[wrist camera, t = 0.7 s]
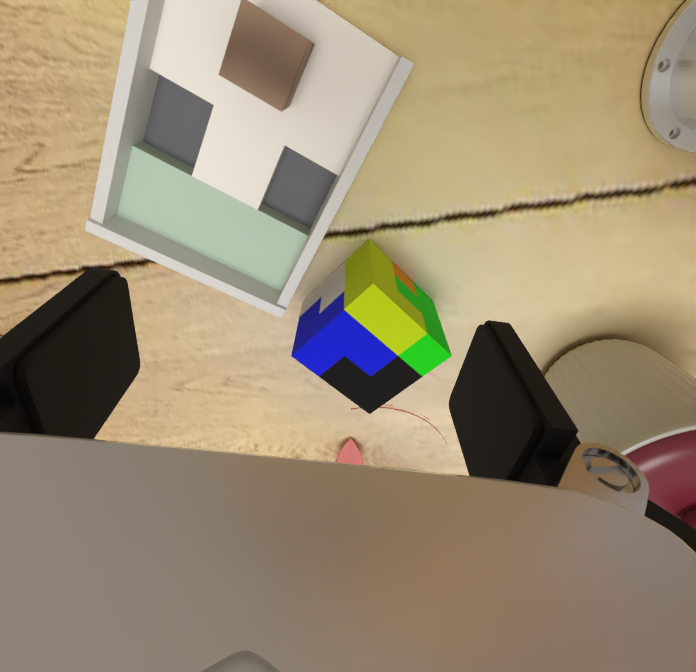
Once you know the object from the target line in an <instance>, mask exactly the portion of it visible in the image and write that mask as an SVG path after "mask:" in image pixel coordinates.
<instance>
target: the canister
mask: <svg viewBox="0 0 696 672" xmlns="http://www.w3.org/2000/svg"><path fill="white" fill-rule="evenodd" d="M544 377H545V379H546V380H547V382H548V384H549V385H550V387H551V388H552V390H553V391H554V393H555V394H556V396H557V398H558V399H559V401H560V402H561V404H562V405H563V407H564V408H565V410H566V412H567V413H568V415H569V416H570V418H571V419H572V421H573V422H574V424H575V425H576V427H577V429H578V430H579V431H578V433H577V434H576V436H577V438H578V439H579V441H580V442H581V444H582V443H586V442H589V443H598V444H602V445H606V446H608V447H610V448H612V449H614V450H617V451H618V452H620V453H621V454H623V455H624V456H626V457H628V458H629V459H630V460H631V461H632V462H633V463H634V464H636V465H637V466H638V468H639V469H640V470H641V471H642V472H643V474H644V475H645V477H646V479H647V481H648V483H649V495H648V499H649V500H650V501H652V502H654V503H655V504H657V505H658V506H660V507H661V508H663V509H665V510H666V511H668V512H669V513H671V514H673V515H674V516H676V517H677V518H679V519H680V520H682V521H684V522H685V523H687V524H688V525H690V526H692V527H693V528H695V529H696V379H695V378H694V377H692V376H691V375H689V374H688V373H687V372H685V371H684V370H682V369H681V368H679V367H678V366H676V365H675V364H673V363H672V362H670V361H669V360H667V359H666V358H664V357H663V356H662V355H660V354H658V353H657V352H655V351H654V350H652V349H650V348H648V347H646V346H643V345H641V344H639V343H636V342H631V341H628V340H618V339H610V340H608V339H603V340H600V341H593V342H591V343H585V344H584V345H582V346H579V347H576V348H575V349H573V350H571V351H568V353H566V354H565V355H563V356H561V358H560V359H559V360H557V361H555V363H554V364H553V365H552V366H551V367H550V368H549V371H548V372H547V373H546V374H545V376H544Z"/></svg>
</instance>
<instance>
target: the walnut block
mask: <svg viewBox="0 0 696 672" xmlns="http://www.w3.org/2000/svg"><path fill="white" fill-rule="evenodd" d="M314 45H315V44H314V43H313V42H311V41H310V40H308V39H307V38H305V37H304V36H302V35H301V34H299V33H298V32H296V31H294V30H293V29H291V28H290V27H288V26H287V25H285V24H284V23H282V22H281V21H279V20H278V19H276V18H274V17H273V16H271V15H270V14H268V13H267V12H265V11H264V10H262V9H261V8H259V7H258V6H256V5H254V4H253V3H251V2H250V1H248V0H241V2H240V6H239V9H238V12H237V15H236V19H235V22H234V25H233V28H232V32H231V35H230V38H229V42H228V45H227V48H226V51H225V55H224V58H223V61H222V65H221V68H220V71H219V74H218V75H220V76H222V77H223V78H225V79H227V80H228V81H230V82H232V83H233V84H235V85H237V86H239V87H240V88H242V89H244V90H245V91H247V92H249V93H250V94H252V95H254V96H255V97H257V98H259V99H261V100H262V101H264V102H266V103H267V104H269V105H271V106H272V107H274V108H276V109H278V110H279V111H281V112H282V111H283V110H285V109H286V108H288V107H290V105H291V102H292V100H293V97H294V95H295V92H296V90H297V87H298V85H299V82H300V80H301V77H302V75H303V72H304V70H305V67H306V65H307V62H308V60H309V57H310V55H311V52H312V50H313V47H314Z"/></svg>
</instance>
